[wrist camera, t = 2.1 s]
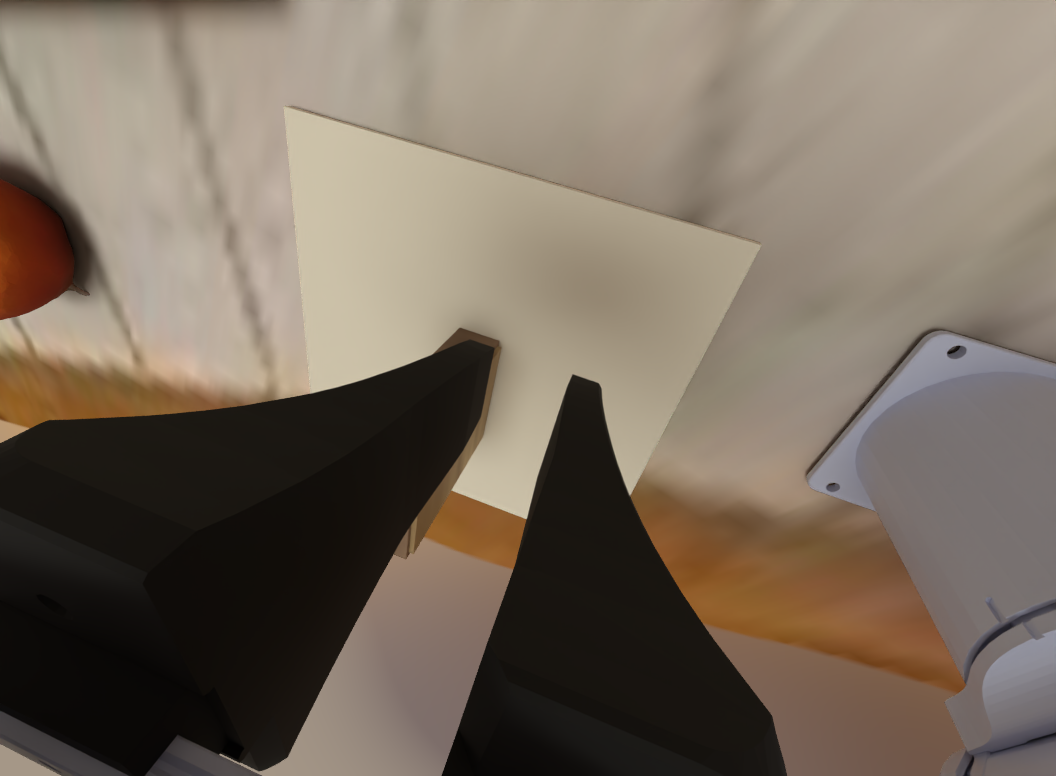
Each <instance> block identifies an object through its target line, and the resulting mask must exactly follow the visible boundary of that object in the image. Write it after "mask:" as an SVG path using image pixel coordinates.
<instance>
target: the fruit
mask: <svg viewBox="0 0 1056 776" xmlns="http://www.w3.org/2000/svg"><path fill="white" fill-rule="evenodd" d="M73 274H74V256H73V251H72V248H71V246H70V243H69V241H68V238H67V235H66V232H65V229H64V226H63V222H62V219H61V218H60V216H59V215H58V214H57V213H56V212H54V211H53V210H52V209H51V208H50V207H48V206H47V205H46V204H45V203H44V202H42V201H41V200H40V199H38V198H36V197H35V196H33V195H31V194H29V193H27V192H25V191H24V190H22V189H20V188H18V187H16V186H14V185H12V184H10V183H8V182H6V181H4V180H2V179H0V320H3V319H7V318H12V317H17V316H20V315H23V314H26V313H28V312H31V311H33V310H35V309H37V308H40V307H42V306H43V305H45V304H47V303H48V302H50V301H52V300H53V299H55V298H57V297H59V296H60V295H61V294H62V293H64V292H65V291H67V290H73V291H76V292H78V293H80V294H82V295H85V296H87V295H90V294H89V293H87V292H85V291H83V290H81V289H80V288H78V287H77V286H75V285H74V284H73Z"/></svg>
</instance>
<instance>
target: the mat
mask: <svg viewBox="0 0 1056 776" xmlns="http://www.w3.org/2000/svg"><path fill="white" fill-rule="evenodd" d="M284 114H285V125H286V135H287V146H288V157H289V168H290V178H291V189H292V200H293V211H294V221H295V232H296V243H297V254H298V264H299V275H300V286H301V297H302V307H303V318H304V329H305V339H306V350H307V361H308V372H309V382H310V393H315V392H319V391H323V390H327V389H331V388H336V387H339V386H343V385H347V384H350V383H354V382H357V381H360V380H364V379H367V378H370V377H372V376H375V375H378V374H381V373H384V372H387V371H390V370H393V369H396V368H399V367H402V366H404V365H407V364H410V363H412V362H415V361H417V360H420V359H422V358H425V357H427V356H430V355H432V354H433V353H434V352H435V351H436V350H437V349H438V348H439V347H440V346H441V345H442V344H443V343H444V342H445V341H446V340H447V339H449V338H450V337H451V336H452V335H453V334H454V333H455V332H456V331H457V330H458V329H459V328H463V329H466V330H469V331H472V332H475V333H478V334H481V335H484V336H487V337H490V338H493V339H496V340H499V341H500V342H499V347H501V353H500V358H499V363H498V367H497V372H496V377H495V382H494V387H493V391H492V396H491V401H490V406H489V411H488V415H487V420H486V425H485V430H484V435H483V438H482V440H481V441H480V443H479V445H478V446H477V448H476V450H475V451H474V453H473V455H472V456H471V458H470V460H469V461H468V463H467V465H466V467H465V468H464V470H463V472H462V473H461V475H460V477H459V478H458V480H457V482H456V483H455V485H454V487H453V488H452V491H454V492H457V493H460V494H462V495H465V496H467V497H470V498H473V499H475V500H478V501H481V502H483V503H486V504H488V505H491V506H494V507H496V508H499V509H501V510H504V511H507V512H509V513H512V514H514V515H517V516H520V517H522V518H525V519H527V516H528V512H529V508H530V504H531V500H532V496H533V492H534V488H535V484H536V480H537V476H538V473H539V470H540V467H541V464H542V461H543V458H544V455H545V452H546V449H547V446H548V443H549V440H550V437H551V434H552V431H553V428H554V425H555V422H556V419H557V416H558V413H559V409H560V406H561V403H562V400H563V397H564V394H565V391H566V388H567V386H568V383H569V381H570V379H571V377H572V374H574V375H577V376H579V377H582V378H585V379H588V380H591V381H594V382H597V383H599V384H600V386H601V388H602V400H603V408H604V413H605V419H606V423H607V428H608V432H609V435H610V439H611V443H612V446H613V450H614V453H615V457H616V460H617V463H618V466H619V468H620V471H621V474H622V477H623V480H624V482H625V485H626V487H627V490H628V493H629V495H631V493H632V491H633V489H634V487H635V485H636V483H637V482H638V480H639V478H640V476H641V474H642V472H643V470H644V468H645V466H646V464H647V463H648V461H649V459H650V457H651V455H652V453H653V451H654V449H655V447H656V445H657V444H658V442H659V440H660V438H661V436H662V434H663V432H664V430H665V428H666V426H667V424H668V423H669V421H670V419H671V417H672V415H673V413H674V411H675V409H676V407H677V405H678V404H679V402H680V400H681V398H682V396H683V394H684V392H685V390H686V388H687V386H688V385H689V383H690V381H691V379H692V377H693V375H694V373H695V371H696V369H697V367H698V366H699V364H700V362H701V360H702V358H703V356H704V354H705V352H706V350H707V348H708V347H709V345H710V343H711V341H712V339H713V337H714V335H715V333H716V331H717V329H718V327H719V326H720V324H721V322H722V320H723V318H724V316H725V314H726V312H727V310H728V308H729V307H730V305H731V303H732V301H733V299H734V297H735V295H736V293H737V291H738V289H739V288H740V286H741V284H742V282H743V280H744V278H745V276H746V274H747V272H748V270H749V269H750V267H751V265H752V263H753V261H754V259H755V257H756V255H757V253H758V251H759V249H760V248H761V246H762V245H761V244H760V243H759V242H756V241H753V240H749V239H746V238H742V237H739V236H735V235H732V234H728V233H725V232H722V231H718V230H715V229H711V228H708V227H704V226H701V225H697V224H694V223H691V222H687V221H684V220H680V219H677V218H673V217H670V216H666V215H663V214H660V213H656V212H653V211H649V210H646V209H642V208H639V207H636V206H632V205H629V204H625V203H622V202H618V201H615V200H611V199H608V198H605V197H601V196H598V195H594V194H591V193H587V192H584V191H580V190H577V189H574V188H570V187H567V186H563V185H560V184H556V183H553V182H549V181H546V180H543V179H539V178H536V177H532V176H529V175H525V174H522V173H518V172H515V171H512V170H508V169H505V168H501V167H498V166H494V165H491V164H488V163H484V162H481V161H477V160H474V159H470V158H467V157H463V156H460V155H457V154H453V153H450V152H446V151H443V150H439V149H436V148H432V147H429V146H426V145H422V144H419V143H415V142H412V141H408V140H405V139H401V138H398V137H395V136H391V135H388V134H384V133H381V132H377V131H374V130H370V129H367V128H364V127H360V126H357V125H353V124H350V123H346V122H343V121H340V120H336V119H333V118H329V117H326V116H322V115H319V114H315V113H312V112H309V111H305V110H302V109H298V108H295V107H291V106H284Z"/></svg>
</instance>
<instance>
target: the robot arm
mask: <svg viewBox="0 0 1056 776" xmlns="http://www.w3.org/2000/svg"><path fill="white" fill-rule="evenodd" d="M957 345H960V348H959V350H958V351H956V352H955V353H952V354H947V352H948V350H949V349H951V348H952V347H954V346H957ZM494 349H495V348H494V347H491V346H488V345H485V344H482V343H479V342H477V341H474V340H471V339H470V340H467V341H464V342H461V343H459V344H456V345H454V346H451V347H449V348H447V349H444V350H442V351H439V352H437V353H435V354H432V355H430V356H427V357H425V358H422V359H420V360H417V361H415V362H412V363H410V364H407V365H404V366H402V367H399V368H396V369H393V370H390V371H387V372H384V373H381V374H378V375H375V376H372V377H370V378H367V379H364V380H360V381H357V382H354V383H350V384H347V385H343V386H339V387H336V388H331V389H327V390H323V391H319V392H315V393H311V394H306V395H302V396H296V397H291V398H285V399H279V400H274V401H268V402H262V403H256V404H251V405H245V406H238V407H230V408H222V409H214V410H206V411H196V412H186V413H176V414H164V415H151V416H134V417H114V418H95V419H75V420H48V421H45V422H43V423H41V424H38V425H36V426H34V427H32V428H30V429H28V430H26V431H24V432H22V433H20V434H18V435H16V436H14V437H12V438H10V439H8V440H6V441H4V442H2V443H0V744H1V745H4V746H5V747H7V748H9V749H11V750H13V751H15V752H17V753H19V754H21V755H23V756H25V757H27V758H29V759H30V760H32V761H34V762H37V763H38V764H40V765H42V766H44V767H46V768H48V769H50V770H52V771H54V772H56V773H57V774H60V775H61V776H261V775H259V774H257V773H255V772H253V771H251V770H249V769H247V768H244V767H243V766H241V765H238V764H236V763H234V762H232V761H230V760H228V759H226V758H224V757H222V756H220V755H219V754H223V755H225V756H227V757H229V758H231V759H233V760H235V761H237V762H239V763H240V762H241V763H243V764H245V765H247V766H249V767H251V768H253V769H255V770H257V771H262V770H265V769H268V768H270V767H272V766H274V765H276V764H278V763H279V762H281V761H282V760H284V759H286V758H287V757H288V755H289V753H290V751H291V749H292V747H293V745H294V743H295V741H296V739H297V737H298V735H299V733H300V731H301V728H302V727H303V725H304V723H305V721H306V719H307V717H308V715H309V713H310V711H311V709H312V707H313V705H314V703H315V701H316V699H317V697H318V695H319V692H320V691H321V689H322V687H323V684H324V683H325V681H326V679H327V677H328V675H329V673H330V671H331V669H332V667H333V665H334V663H335V661H336V659H337V658H338V656H339V654H340V652H341V650H342V648H343V646H344V644H345V642H346V640H347V639H348V637H349V635H350V633H351V631H352V629H353V627H354V625H355V623H356V621H357V619H358V618H359V616H360V614H361V612H362V610H363V608H364V607H365V605H366V603H367V601H368V599H369V597H370V596H371V594H372V592H373V590H374V588H375V586H376V585H377V583H378V581H379V579H380V577H381V575H382V574H383V572H384V570H385V568H386V567H387V565H388V563H389V561H390V559H391V558H392V556H393V554H394V552H395V551H396V549H397V547H398V545H399V544H400V542H401V540H402V538H403V537H404V535H405V534H406V532H407V531H408V529H409V528H410V526H411V524H412V523H413V521H414V520H415V519H416V517H417V516H418V514H419V513H420V512H421V510H422V509H423V507H424V506H425V504H426V503H427V502H428V500H429V499H430V497H431V496H432V495H433V493H434V492H435V490H436V489H437V487H438V486H439V485H440V483H441V482H442V480H443V479H444V478H445V476H446V475H447V473H448V472H449V470H450V469H451V468H452V466H453V465H454V463H455V462H456V460H457V459H458V458H459V456H460V455H461V453H462V452H463V450H464V448H465V447H466V445H467V443H468V441H469V439H470V437H471V435H472V433H473V431H474V430H475V428H476V426H477V424H478V422H479V420H480V418H481V415H482V410H483V405H484V400H485V395H486V389H487V384H488V379H489V374H490V369H491V364H492V359H493V354H494ZM806 478H807V483H808V485H809V486H810V488H812V489H813V490H816V491H819V492H821V493H824V494H827V495H830V496H833V497H836V498H839V499H842V500H844V501H847V502H850V503H853V504H856V505H859V506H862V507H864V508H867V509H870V510H873V511H876V512H877V514H878V516H879V518H880V520H881V522H882V523H883V525H884V527H885V529H886V531H887V533H888V535H889V537H890V539H891V541H892V543H893V545H894V547H895V549H896V550H897V552H898V554H899V556H900V558H901V560H902V562H903V564H904V566H905V568H906V570H907V572H908V574H909V575H910V577H911V579H912V581H913V583H914V585H915V587H916V589H917V591H918V593H919V595H920V597H921V599H922V600H923V602H924V604H925V606H926V608H927V610H928V612H929V614H930V616H931V618H932V620H933V622H934V624H935V626H936V627H937V629H938V631H939V633H940V635H941V637H942V639H943V641H944V643H945V645H946V647H947V649H948V651H949V652H950V654H951V656H952V658H953V660H954V662H955V664H956V666H957V668H958V670H959V672H960V674H961V676H962V678H963V679H964V681H965V683H966V687H965V688H964V689H963V690H962V691H961V692H959V693H958V694H957V695H955V696H953V697H951V698H949V699H947V700H946V701H945V705H946V707H947V709H948V711H949V713H950V715H951V717H952V719H953V721H954V724H955V726H956V728H957V730H958V732H959V735H960V737H961V739H962V741H963V743H964V745H965V747H966V748H964V749H961V750H959V751H957V752H955V753H953V754H951V755H950V757H949V758H948V759H947V760H946V761H945V763H944V764H943V766H942V769H941V773H940V775H939V776H1056V364H1055V363H1052V362H1049V361H1045V360H1042V359H1039V358H1035V357H1032V356H1029V355H1025V354H1022V353H1019V352H1015V351H1012V350H1009V349H1005V348H1002V347H999V346H995V345H992V344H989V343H985V342H982V341H978V340H975V339H972V338H968V337H965V336H962V335H958V334H955V333H952V332H948V331H941V330H940V331H935V332H932V333H930V334H928V335H926V336H925V337H924V338H923V339H922V340H921V341H920V342H919V343H918V344H917V346H916V347H915V348H914V349H913V350H912V351H911V353H910V354H909V355H908V356H907V357H906V359H905V360H904V361H903V362H902V363H901V364H900V366H899V367H898V368H897V369H896V370H895V372H894V373H893V374H892V375H891V376H890V377H889V379H888V380H887V381H886V382H885V383H884V385H883V386H882V387H881V388H880V389H879V391H878V392H877V393H876V394H875V395H874V396H873V398H872V399H871V400H870V401H869V402H868V404H867V405H866V406H865V407H864V408H863V409H862V411H861V412H860V413H859V414H858V415H857V417H856V418H855V419H854V420H853V421H852V423H851V424H850V425H849V426H848V427H847V428H846V430H845V431H844V432H843V433H842V434H841V436H840V437H839V438H838V439H837V440H836V441H835V443H834V444H833V445H832V446H831V447H830V449H829V450H828V451H827V452H826V453H825V454H824V456H823V457H822V458H821V459H820V460H819V462H818V463H817V464H816V465H815V466H814V468H813V469H812V470H811V471H810V472H809V473H808V475H807V477H806ZM829 483H836V484H835V485H831V486H829V485H828V484H829ZM442 776H787V773H786V769H785V764H784V760H783V757H782V753H781V750H780V746H779V742H778V739H777V735H776V731H775V727H774V722H773V718H772V715H771V714H770V712H769V711H768V710H767V709H766V707H765V706H764V705H763V703H762V702H761V701H760V699H759V698H758V697H757V695H756V694H755V693H754V692H753V690H752V689H751V688H750V686H749V685H748V684H747V683H746V681H745V680H744V679H743V677H742V676H741V675H740V673H739V672H738V671H737V669H736V668H735V667H734V665H733V664H732V663H731V662H730V660H729V659H728V658H727V657H726V655H725V654H724V652H723V651H722V650H721V648H720V647H719V646H718V645H717V643H716V642H715V641H714V639H713V638H712V636H711V635H710V634H709V632H708V631H707V629H706V628H705V626H704V625H703V623H702V622H701V620H700V619H699V618H698V616H697V615H696V613H695V612H694V610H693V609H692V607H691V606H690V604H689V603H688V601H687V600H686V598H685V597H684V595H683V594H682V592H681V591H680V589H679V588H678V586H677V584H676V582H675V581H674V579H673V577H672V576H671V574H670V572H669V571H668V569H667V567H666V566H665V564H664V562H663V561H662V559H661V557H660V555H659V554H658V552H657V550H656V549H655V547H654V545H653V543H652V541H651V539H650V537H649V535H648V533H647V531H646V529H645V527H644V526H643V524H642V522H641V519H640V517H639V515H638V513H637V511H636V509H635V506H634V504H633V502H632V500H631V497H630V495H629V493H628V490H627V487H626V485H625V482H624V480H623V477H622V474H621V471H620V468H619V466H618V463H617V460H616V457H615V453H614V450H613V446H612V443H611V439H610V435H609V432H608V428H607V423H606V419H605V413H604V408H603V400H602V388H601V386H600V384H599V383H597V382H594V381H591V380H588V379H585V378H582V377H579V376H577V375H574V374H572V377H571V379H570V381H569V383H568V386H567V388H566V391H565V394H564V397H563V400H562V403H561V406H560V409H559V413H558V416H557V419H556V422H555V425H554V428H553V431H552V434H551V437H550V440H549V443H548V446H547V449H546V452H545V455H544V458H543V461H542V464H541V467H540V470H539V473H538V476H537V480H536V484H535V488H534V492H533V496H532V500H531V504H530V508H529V512H528V516H527V520H526V524H525V528H524V532H523V536H522V540H521V544H520V548H519V552H518V556H517V560H516V563H515V567H514V569H513V572H512V575H511V578H510V581H509V584H508V587H507V589H506V592H505V595H504V598H503V601H502V604H501V606H500V609H499V612H498V615H497V618H496V620H495V623H494V626H493V629H492V631H491V634H490V637H489V640H488V643H487V646H486V649H485V652H484V655H483V657H482V661H481V663H480V666H479V669H478V672H477V675H476V678H475V681H474V684H473V687H472V690H471V692H470V695H469V699H468V701H467V704H466V707H465V710H464V713H463V716H462V719H461V722H460V725H459V728H458V731H457V734H456V736H455V739H454V742H453V745H452V748H451V751H450V753H449V756H448V759H447V762H446V765H445V768H444V771H443V773H442Z"/></svg>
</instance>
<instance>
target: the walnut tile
mask: <svg viewBox="0 0 1056 776" xmlns="http://www.w3.org/2000/svg"><path fill="white" fill-rule="evenodd" d="M470 339H471V340H474V341H477V342H479V343H482V344H485V345H488V346H491V347H494V348H495V349H494V354H493V359H492V364H491V369H490V374H489V379H488V384H487V389H486V395H485V400H484V405H483V410H482V415H481V418H480V420H479V422H478V424H477V426H476V428H475V430H474V431H473V433H472V435H471V437H470V439H469V441H468V443H467V445H466V447H465V448H464V450H463V452H462V453H461V455H460V456H459V458H458V459H457V460H456V462H455V463H454V465H453V466H452V468H451V469H450V470H449V472H448V473H447V475H446V476H445V478H444V479H443V480H442V482H441V483H440V485H439V486H438V487H437V489H436V490H435V492H434V493H433V495H432V496H431V497H430V499H429V500H428V502H427V503H426V504H425V506H424V507H423V509H422V510H421V512H420V513H419V514H418V516H417V517H416V519H415V520H414V521H413V523H412V524H411V526H410V528H409V529H408V531H407V532H406V534H405V535H404V537H403V538H402V540H401V542H400V544H399V545H398V547H397V549H396V551H395V552H394V555H396V556H399V557H401V558H404V559H407V557H408V555H409V554H410V553H412V554H414V552H415V550H416V549H417V547H418V546H419V544H420V542H421V541H422V539H423V537H424V536H425V534H426V532H427V531H428V529H429V527H430V525H431V524H432V522H433V520H434V519H435V517H436V515H437V514H438V512H439V510H440V509H441V507H442V505H443V504H444V502H445V500H446V499H447V497H448V495H449V493H450V492H451V490H452V488H453V487H454V485H455V483H456V482H457V480H458V478H459V477H460V475H461V473H462V472H463V470H464V468H465V467H466V465H467V463H468V461H469V460H470V458H471V456H472V455H473V453H474V451H475V450H476V448H477V446H478V445H479V443H480V441H481V440H482V438H483V435H484V430H485V425H486V420H487V415H488V411H489V406H490V401H491V396H492V391H493V387H494V382H495V377H496V372H497V367H498V363H499V358H500V353H501V347H499V342H500V341H499V340H496V339H493V338H490V337H487V336H484V335H481V334H478V333H475V332H472V331H469V330H466V329H463V328H459V329H458V330H457V331H456V332H455V333H454V334H453V335H452V336H451V337H450V338H449V339H447V340H446V341H445V342H444V343H443V344H442V345H441V346H440V347H439V348H438V349H437V350H436V351H435V352H434V353H433V354H435V353H437V352H439V351H442V350H444V349H447V348H449V347H451V346H454V345H456V344H459V343H461V342H464V341H467V340H470Z"/></svg>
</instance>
